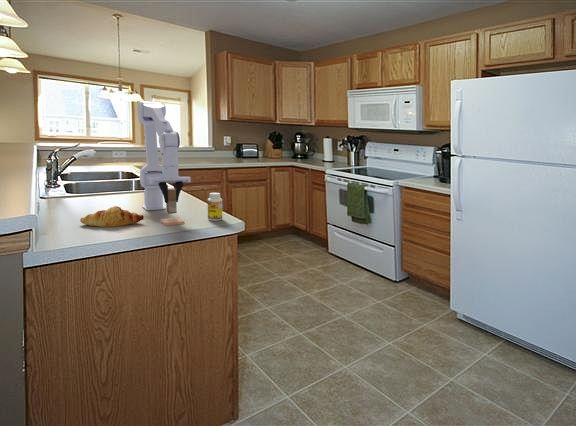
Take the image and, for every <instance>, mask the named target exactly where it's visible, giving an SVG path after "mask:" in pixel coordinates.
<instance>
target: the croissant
mask: <svg viewBox="0 0 576 426" xmlns="http://www.w3.org/2000/svg"><path fill="white" fill-rule="evenodd" d="M144 218H145V217H144V215H143V214H138V213H137V212H130V211H129V210H126V209H122V208H121V207H120V206H117V205H114V206H112V207H111V206H110V207H109V208H108V209H103V210H98V211H96V212H94V213H90V214H87V215H85V216H84V217H81V218H80V219H79V221H80V223H81V224H82V225H87V226H92V227H99V228H100V227H101V228H115V227H121V226H128V225H129V226H130V225H135V224H137V223H140V222H141V221H143V220H144Z"/></svg>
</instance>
